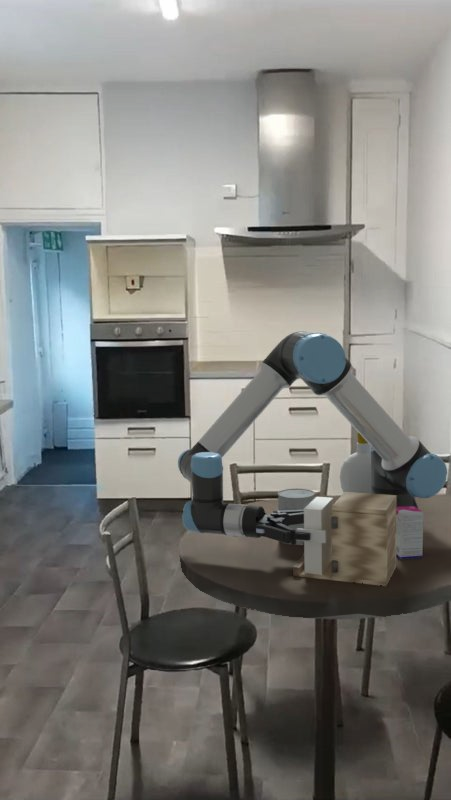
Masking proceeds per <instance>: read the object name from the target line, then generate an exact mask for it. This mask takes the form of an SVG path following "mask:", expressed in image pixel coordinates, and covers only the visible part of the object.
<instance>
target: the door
mask: <svg viewBox="0 0 451 800" xmlns="http://www.w3.org/2000/svg"><path fill="white" fill-rule="evenodd" d="M333 504H334V497H329V496H328V497H327V496H315V499H314V500H313V501H311V502H310V503H309V504H308V505H307V506H306V507H305V508H304V529H313V530H325V531H326V543H316V542H305V541H304V545H303V548H304V549H303V550H304V552H303V553H304V554H303V555H304V565H305V573H310V574H319V575H322V574H323V573H324V571H325V570H326V569H327V567H328V566H329V565H330V563H331V561H332V528H331V517H332V505H333Z"/></svg>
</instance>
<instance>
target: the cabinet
mask: <svg viewBox="0 0 451 800" xmlns="http://www.w3.org/2000/svg"><path fill="white" fill-rule="evenodd" d="M331 528H332V561H331V563H330V565H329V566H328V567H327V569H326V570H325V571H324V573H323V574H322V575H319V574H310V573H305V565H304V554H303V555H302V556H301V557H300V558H299V559H298V560H297V562H296V563H295V564H294V565H293V566H292V576H293V577H300V578H307V579H308V578H309V579H310V578H311V579H318V580H327V581H335V582H344V583H353V582H355V583H356V584H362V583H363V584H362V585H371V586H380V585H382V586H381V587H387V585H388V583H389V582H390V579H391V578H392V577H393V574H394V571H395V570H396V567H397V556H396V495H384V494H369V493H355V492H344V493H343V492H342V495H341V496H339V498H337V499H336V501H335V502H333V505H332V517H331ZM390 577H391V578H390Z"/></svg>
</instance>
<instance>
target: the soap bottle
mask: <svg viewBox="0 0 451 800" xmlns="http://www.w3.org/2000/svg"><path fill="white" fill-rule="evenodd" d="M371 448H372V447H371V445H370V444H369V443H368V442H367V441H366V440H365V439H364V438H363V437H362V436H361V435H360V433H359V432H358V431H357V442H356V452H354V453H352V454H350V455H348V457H346V458H345V460H343V463H342V465H341V467H340V474H339V482H340V488H341V491H342V494H343V493H344V492H355V493H369V494H371Z"/></svg>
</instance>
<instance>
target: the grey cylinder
mask: <svg viewBox="0 0 451 800" xmlns="http://www.w3.org/2000/svg"><path fill="white" fill-rule="evenodd" d="M277 495H278V496H277V497H278V499H277V501H278V504H277V505H278V508H277V510H282V511H283V510H304V508H305V507H306V506H307V505H308V504H309V503H310V502H311V501H313V500H314V499H315V498H316V496H315V495H316V492H315V491H313V490H311V489H306V488H287V489H283V490H279V491H278V492H277ZM288 527H290V528H293V529H295V530H296V532H297V528H302V529H304V523H303V524H295V525H289V526H288ZM279 542H280V543H282V544H286V545H289V546H290V545H292V544H291V543H289V544H287V543H284V542H281V541H279ZM302 545H303V546H304V541H297V539H296V544H295V545H294V546H302ZM292 546H293V545H292Z"/></svg>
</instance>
